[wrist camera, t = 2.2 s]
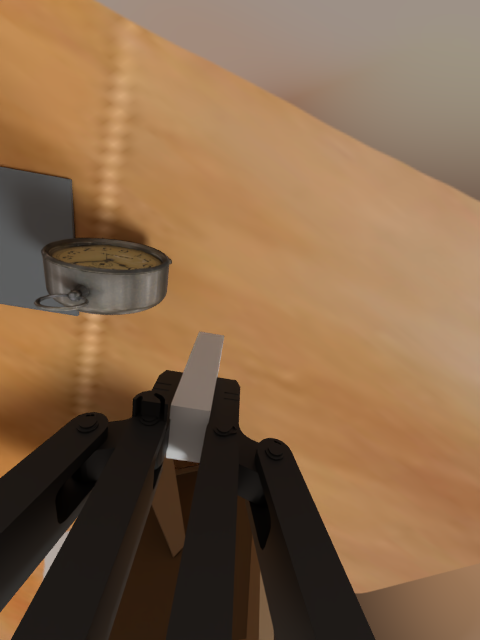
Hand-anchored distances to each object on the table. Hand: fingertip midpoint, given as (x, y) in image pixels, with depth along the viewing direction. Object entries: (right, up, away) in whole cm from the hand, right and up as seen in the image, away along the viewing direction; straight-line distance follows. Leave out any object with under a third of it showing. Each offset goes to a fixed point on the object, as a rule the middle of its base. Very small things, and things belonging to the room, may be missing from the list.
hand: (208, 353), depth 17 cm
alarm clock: (-11, +9, +17) cm, 22 cm away
